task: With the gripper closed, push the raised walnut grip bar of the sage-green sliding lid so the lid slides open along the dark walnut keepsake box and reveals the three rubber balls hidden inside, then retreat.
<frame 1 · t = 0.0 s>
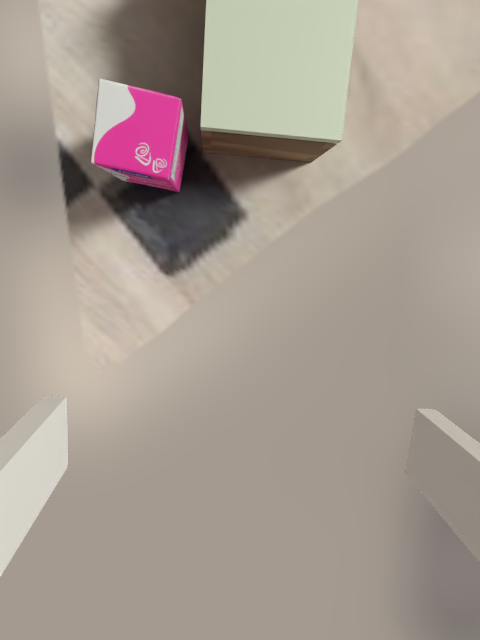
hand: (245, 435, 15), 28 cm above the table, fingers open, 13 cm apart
keepsake box: (264, 68, 37), on the table
lid: (284, 7, 27), point 10 cm above the table, slide at 0.0 cm
supplement box: (156, 159, 38), on the table
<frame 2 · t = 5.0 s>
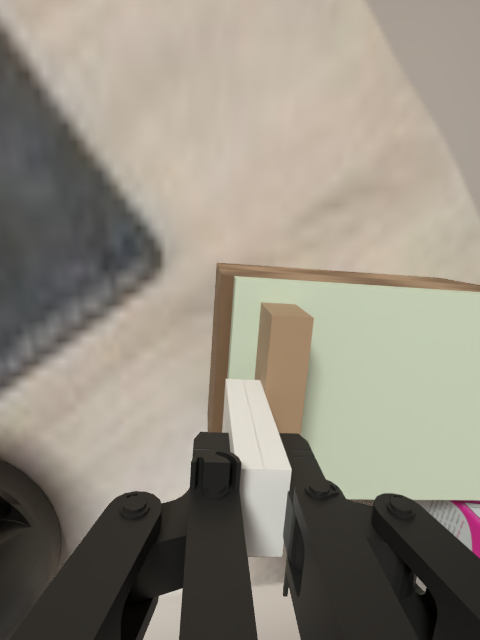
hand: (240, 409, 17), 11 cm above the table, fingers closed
keepsake box: (323, 347, 28), on the table
lid: (400, 409, 18), point 10 cm above the table, slide at 0.6 cm, touching gripper
supplement box: (416, 471, 31), on the table
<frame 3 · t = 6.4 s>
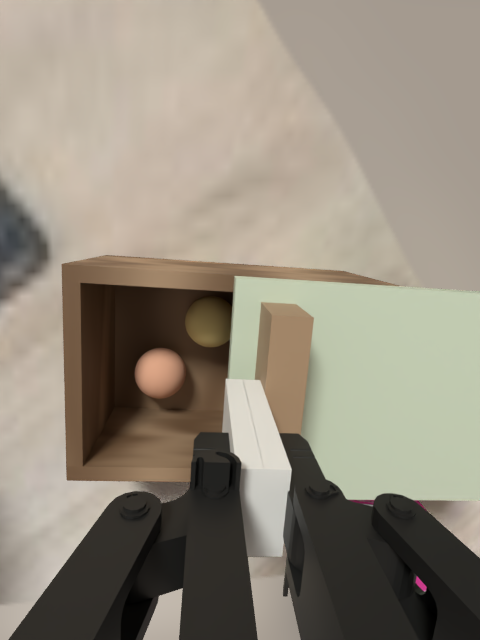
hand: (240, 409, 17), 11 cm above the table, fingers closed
keepsake box: (223, 342, 27), on the table
ball mustard: (210, 316, 26), point 1 cm above the table, touching keepsake box
lid: (401, 409, 18), point 10 cm above the table, slide at 7.8 cm, touching gripper
ball terracotta: (163, 364, 26), point 1 cm above the table, touching keepsake box
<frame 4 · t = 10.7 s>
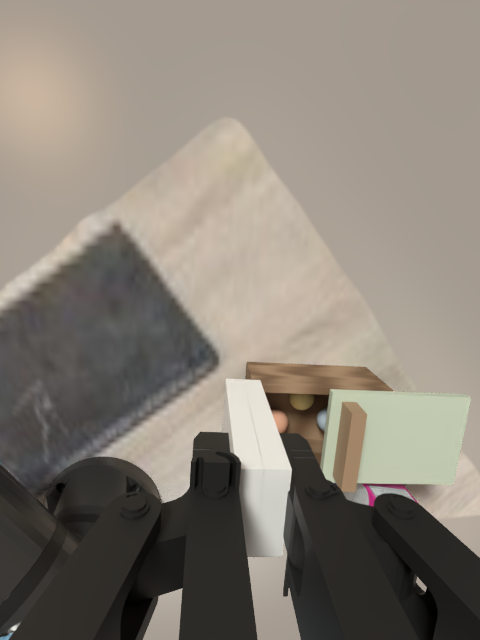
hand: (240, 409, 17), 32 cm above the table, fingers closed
keepsake box: (302, 403, 52), on the table
ball mustard: (298, 392, 51), point 1 cm above the table, touching keepsake box
ball greyblue: (325, 414, 52), point 1 cm above the table, touching keepsake box
lid: (399, 445, 43), point 10 cm above the table, slide at 8.5 cm
supplement box: (356, 470, 55), on the table
ball terracotta: (273, 416, 51), point 1 cm above the table, touching keepsake box
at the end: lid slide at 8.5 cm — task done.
